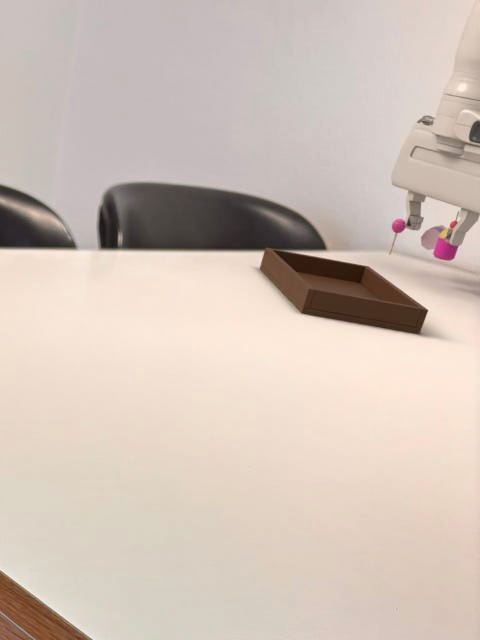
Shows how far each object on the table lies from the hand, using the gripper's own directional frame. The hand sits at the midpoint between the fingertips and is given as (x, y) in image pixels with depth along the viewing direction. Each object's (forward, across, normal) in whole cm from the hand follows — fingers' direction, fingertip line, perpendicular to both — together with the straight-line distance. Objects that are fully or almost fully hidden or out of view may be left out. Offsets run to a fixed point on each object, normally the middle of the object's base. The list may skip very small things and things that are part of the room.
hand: (431, 236), depth 144 cm
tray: (+5, +17, -26) cm, 31 cm away
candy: (+2, 0, 0) cm, 2 cm away
